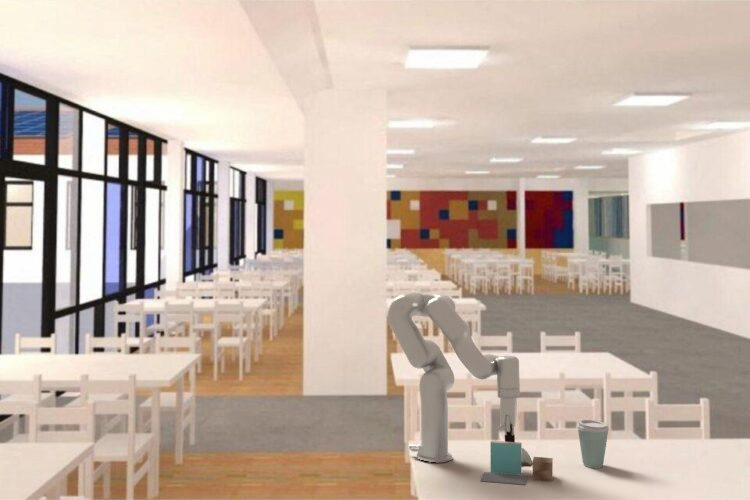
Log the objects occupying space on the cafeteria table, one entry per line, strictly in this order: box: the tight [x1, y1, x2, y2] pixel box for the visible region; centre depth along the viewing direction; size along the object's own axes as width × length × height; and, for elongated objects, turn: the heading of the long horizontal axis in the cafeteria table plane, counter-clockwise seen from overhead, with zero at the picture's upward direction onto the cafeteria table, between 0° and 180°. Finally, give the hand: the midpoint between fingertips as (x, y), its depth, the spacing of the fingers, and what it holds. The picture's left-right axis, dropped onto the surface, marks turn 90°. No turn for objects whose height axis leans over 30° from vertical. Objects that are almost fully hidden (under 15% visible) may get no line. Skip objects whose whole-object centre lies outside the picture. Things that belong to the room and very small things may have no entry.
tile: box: [490, 440, 523, 475], centre depth 243 cm, size 10×2×10 cm, turn 75°
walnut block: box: [532, 456, 554, 483], centre depth 237 cm, size 6×6×6 cm
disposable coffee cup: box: [576, 418, 610, 469], centre depth 251 cm, size 11×11×15 cm
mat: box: [480, 471, 528, 486], centre depth 236 cm, size 14×10×1 cm
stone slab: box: [522, 447, 533, 467], centre depth 262 cm, size 22×3×10 cm
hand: (509, 446), depth 249 cm, fingers closed
